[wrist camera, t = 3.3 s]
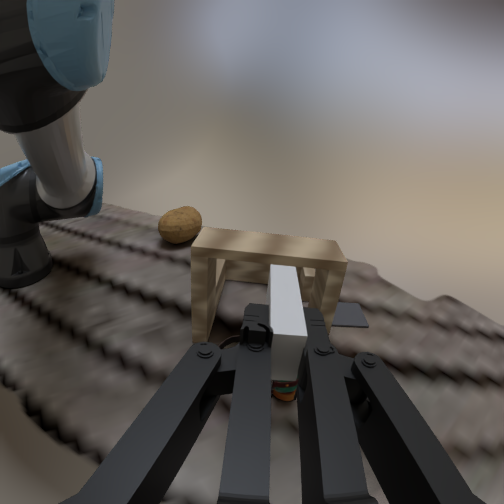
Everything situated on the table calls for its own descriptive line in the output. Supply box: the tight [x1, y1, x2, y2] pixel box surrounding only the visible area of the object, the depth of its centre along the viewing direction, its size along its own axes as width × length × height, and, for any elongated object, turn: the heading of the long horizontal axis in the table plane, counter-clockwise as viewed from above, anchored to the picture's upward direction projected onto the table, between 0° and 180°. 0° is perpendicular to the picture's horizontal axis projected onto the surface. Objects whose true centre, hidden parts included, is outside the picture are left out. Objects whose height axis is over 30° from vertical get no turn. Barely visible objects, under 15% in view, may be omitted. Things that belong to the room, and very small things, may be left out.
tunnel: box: [191, 227, 348, 343], centre depth 45 cm, size 18×21×14 cm
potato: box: [158, 206, 202, 244], centre depth 70 cm, size 10×14×8 cm
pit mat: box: [331, 302, 369, 328], centre depth 48 cm, size 8×7×1 cm
